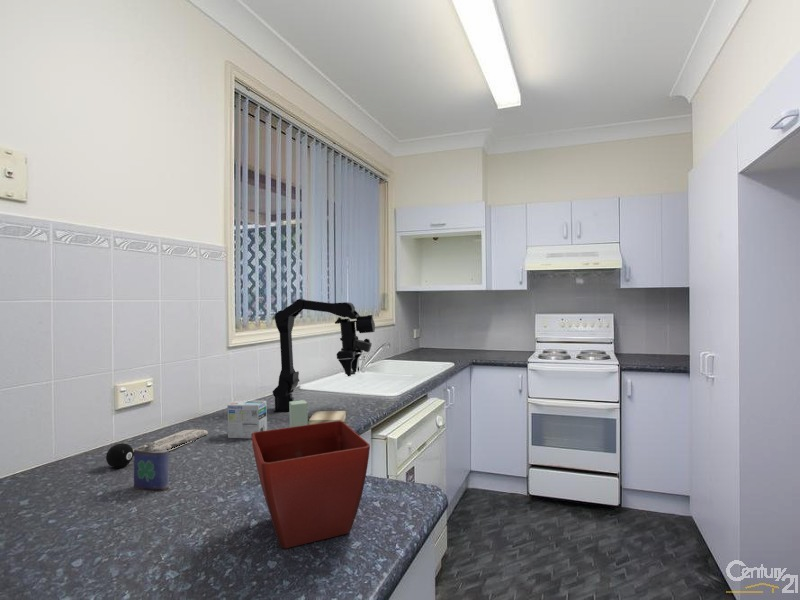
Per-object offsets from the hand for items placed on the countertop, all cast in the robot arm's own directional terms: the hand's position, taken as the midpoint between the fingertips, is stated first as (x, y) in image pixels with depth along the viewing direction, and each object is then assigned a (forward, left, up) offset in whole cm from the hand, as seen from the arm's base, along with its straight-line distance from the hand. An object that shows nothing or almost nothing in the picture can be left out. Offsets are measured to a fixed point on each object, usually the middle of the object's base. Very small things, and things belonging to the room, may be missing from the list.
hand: (352, 374), depth 174 cm
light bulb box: (-31, -30, -15) cm, 45 cm away
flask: (-40, -70, -15) cm, 82 cm away
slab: (-7, -18, -14) cm, 24 cm away
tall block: (-15, -28, -14) cm, 35 cm away
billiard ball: (-56, -56, -15) cm, 80 cm away
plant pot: (+1, -89, -15) cm, 90 cm away
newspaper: (-52, -37, -15) cm, 65 cm away
